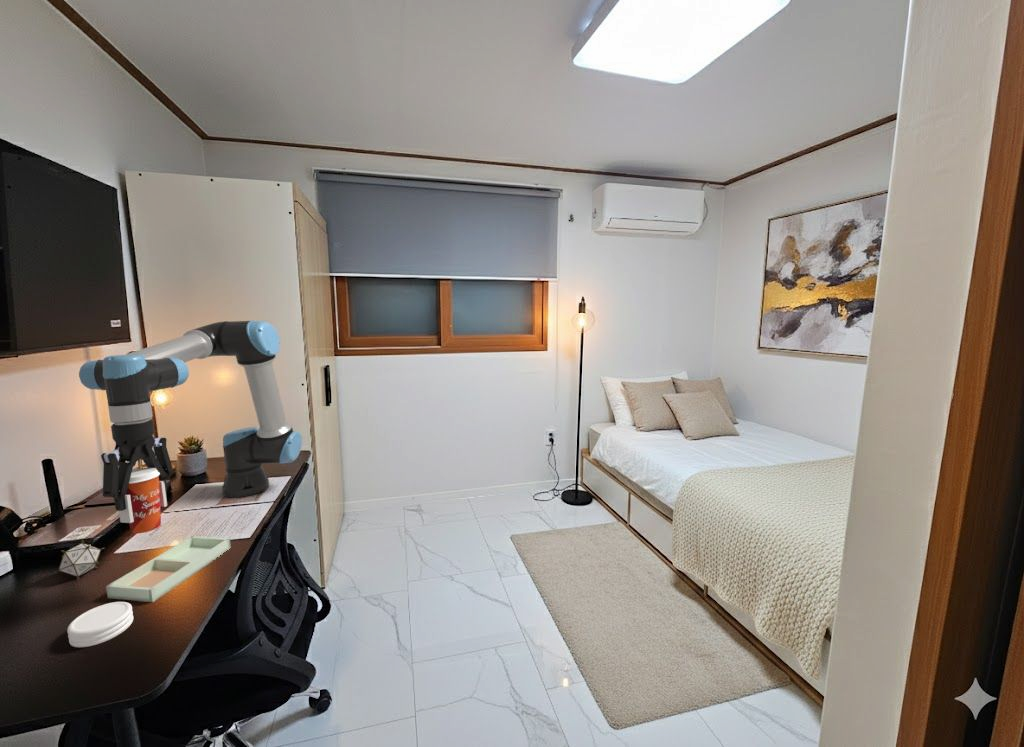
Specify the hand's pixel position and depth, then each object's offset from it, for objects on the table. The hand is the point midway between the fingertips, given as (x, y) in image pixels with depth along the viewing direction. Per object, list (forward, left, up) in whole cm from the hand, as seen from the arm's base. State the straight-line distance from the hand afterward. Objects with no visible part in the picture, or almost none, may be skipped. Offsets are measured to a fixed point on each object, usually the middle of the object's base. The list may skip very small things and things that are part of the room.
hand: (144, 513), depth 106 cm
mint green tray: (-6, 0, -18) cm, 19 cm away
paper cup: (0, 0, -4) cm, 4 cm away
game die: (-2, -23, -19) cm, 30 cm away
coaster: (+15, +4, -19) cm, 25 cm away
